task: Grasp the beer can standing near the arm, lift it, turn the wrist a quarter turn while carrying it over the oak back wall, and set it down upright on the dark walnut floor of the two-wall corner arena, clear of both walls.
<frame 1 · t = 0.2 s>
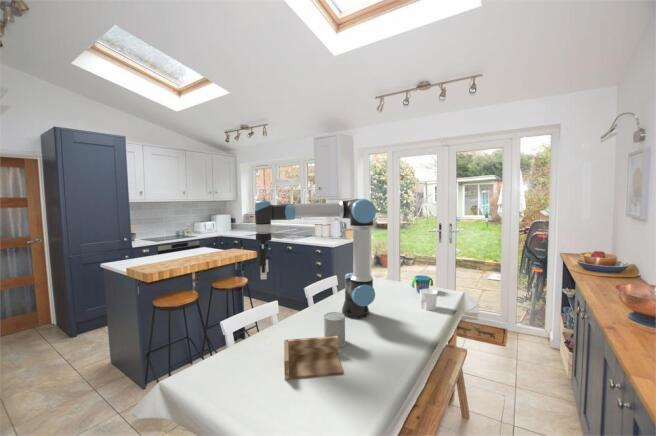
hand: (264, 275, 152), 28 cm above the table, fingers open, 13 cm apart
beer can: (334, 342, 140), on the table
cup: (428, 308, 181), on the table
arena: (314, 365, 121), on the table
snack cup: (422, 292, 211), on the table
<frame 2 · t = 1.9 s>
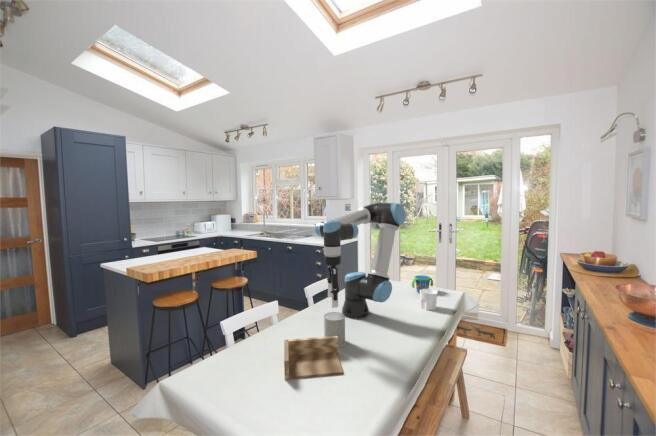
hand: (332, 301, 139), 19 cm above the table, fingers open, 13 cm apart
nothing on the table moved.
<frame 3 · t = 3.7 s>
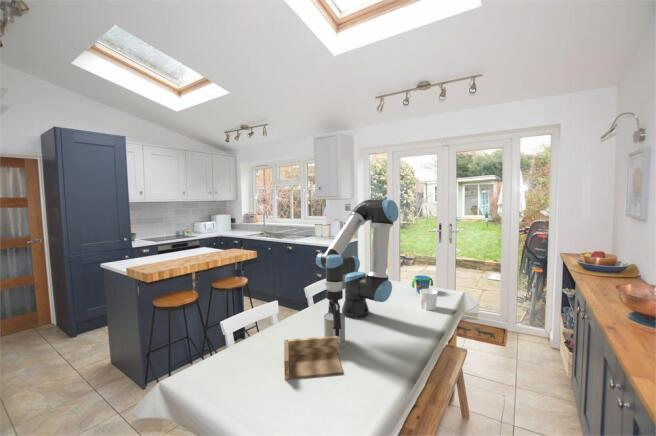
hand: (334, 336, 139), 3 cm above the table, fingers open, 13 cm apart
nothing on the table moved.
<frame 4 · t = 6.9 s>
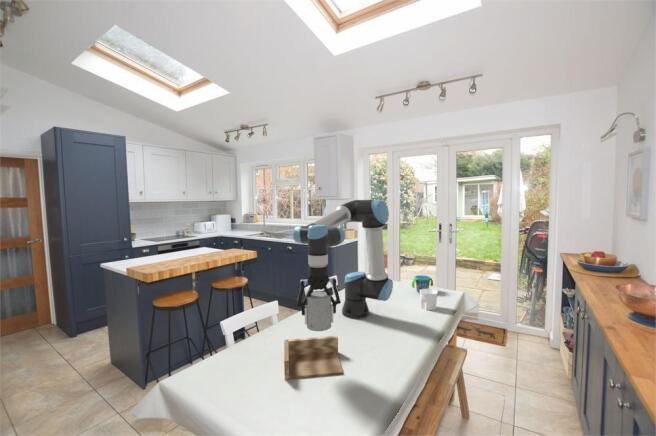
hand: (318, 322, 119), 18 cm above the table, fingers closed on beer can, 9 cm apart
beer can: (319, 326, 119), point 16 cm above the table, touching gripper
everything else where it was.
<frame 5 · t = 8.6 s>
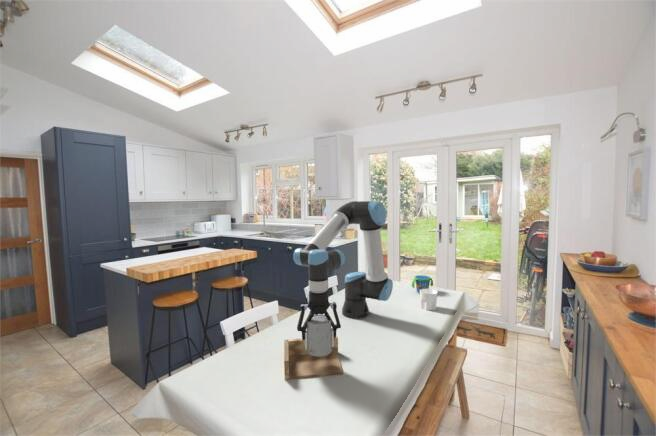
hand: (319, 346, 120), 8 cm above the table, fingers closed on beer can, 9 cm apart
beer can: (319, 350, 120), point 7 cm above the table, touching gripper
everything else where it was.
when the fingers open (4 cm above the table, at t = 10.0 s): beer can drops 2 cm, resting on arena.
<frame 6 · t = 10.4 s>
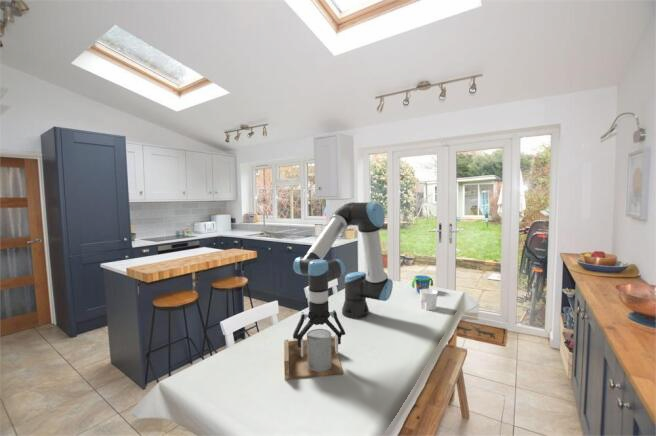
hand: (319, 353, 120), 5 cm above the table, fingers open, 13 cm apart
beer can: (319, 365, 120), point 1 cm above the table, touching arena
everything else where it was.
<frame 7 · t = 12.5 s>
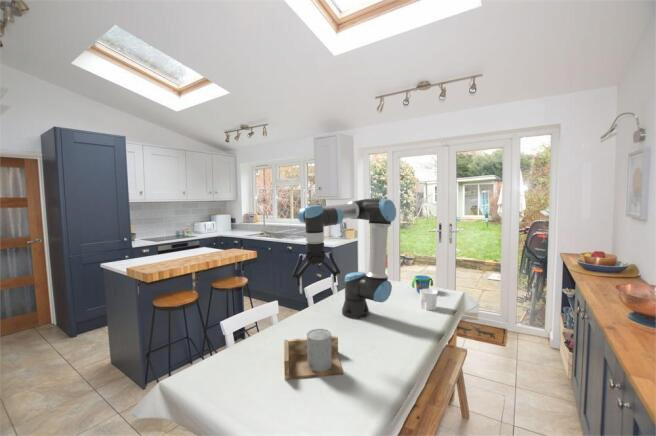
hand: (317, 291, 131), 26 cm above the table, fingers open, 13 cm apart
nothing on the table moved.
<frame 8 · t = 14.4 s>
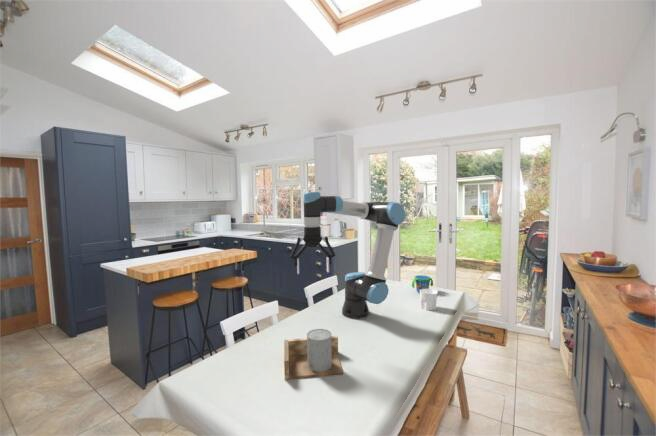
hand: (313, 272, 140), 32 cm above the table, fingers open, 13 cm apart
nothing on the table moved.
at the end: beer can inside the target area on the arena (2.1 cm from its centre), point 0.6 cm above the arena's base; beer can tilted 0°; the gripper is holding nothing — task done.
